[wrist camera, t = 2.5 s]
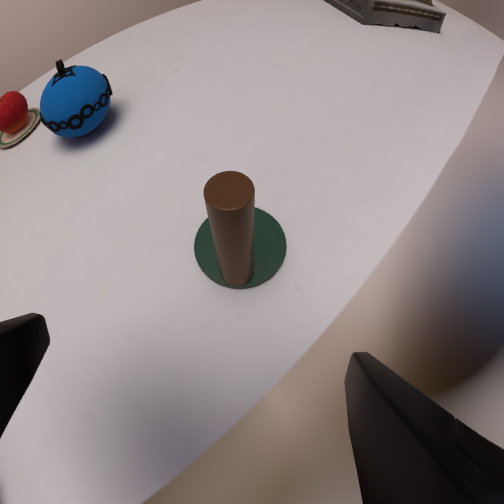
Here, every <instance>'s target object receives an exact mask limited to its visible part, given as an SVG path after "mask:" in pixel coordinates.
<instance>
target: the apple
mask: <svg viewBox="0 0 504 504" xmlns="http://www.w3.org/2000/svg"><path fill="white" fill-rule="evenodd" d="M39 119H40V109H38V108H30V109H28V105H27V101H26V99H25V97H24V96H23V95H22V94H20V93H19V92H17V91H11V92H7V93H6V94H4V95H3V96H2V97H1V98H0V131H1V132H0V148H6V147H9V146H11V145H13V144H15V143H17V142H18V141H20V140H21V139H22V138H24V137H25V136H26V135H27V134H28V133H29V132H30V131H31V130H32V129H33V128H34V127H35V125H36V124H37V122H38V121H39Z"/></svg>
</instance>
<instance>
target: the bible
mask: <svg viewBox="0 0 504 504" xmlns="http://www.w3.org/2000/svg"><path fill="white" fill-rule="evenodd" d="M325 1H328V2H329V3H331V4H332V5H333V6H334V7H336V8H338V9H340V10H341V11H343V12H345V13H346V14H348V15H349V16H351V18H353V19H355V20H357V21H359V22H361V23H363V24H373V25H375V24H382V25H384V26H388V25H390V26H394V25H395V23H396V24H398V25H399V26H401V27H409V26H411V27H414V26H415V25H416V26H417V27H419V28H422V30H426V31H431V32H436V33H439V32H440V28H441V25H442V23H443V20H444V17H445V15H446V13H445V12H443V11H442V10H440V9H439V8H437V7H436V6H434V5H432V1H431V0H325Z"/></svg>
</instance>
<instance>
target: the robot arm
mask: <svg viewBox="0 0 504 504" xmlns="http://www.w3.org/2000/svg"><path fill="white" fill-rule="evenodd" d="M49 344H50V336H49V333H48V329H47V325H46V321H45V318H44V317H43V316H42V315H40V314H36V313H29V314H26V315H23V316H19V317H16V318H13V319H9V320H6V321H2V322H0V438H1V436H2V434H3V432H4V430H5V428H6V426H7V425H8V423H9V421H10V419H11V417H12V415H13V413H14V411H15V410H16V408H17V406H18V404H19V402H20V401H21V399H22V397H23V395H24V394H25V392H26V390H27V388H28V387H29V385H30V383H31V381H32V379H33V377H34V375H35V373H36V371H37V369H38V367H39V365H40V363H41V360H42V358H43V356H44V354H45V352H46V350H47V348H48V346H49ZM345 392H346V403H347V414H348V426H349V434H350V439H351V444H352V448H353V454H354V459H355V463H356V468H357V474H358V479H359V485H360V490H361V496H362V501H363V504H504V449H502V448H501V447H499V446H497V445H496V444H494V443H492V442H491V441H489V440H487V439H486V438H484V437H483V436H481V435H479V434H478V433H477V432H475V431H474V430H472V429H471V428H469V427H468V426H466V425H465V424H464V423H462V422H461V421H460V420H458V419H457V418H456V419H455V417H454V416H453V415H451V414H450V413H449V412H447V411H446V410H445V409H443V408H442V407H441V406H439V405H438V404H436V403H435V402H434V401H432V400H431V399H430V398H428V397H427V396H426V395H424V394H423V393H422V392H420V391H419V390H418V389H416V388H415V387H414V386H412V385H411V384H410V383H408V382H407V381H405V380H404V379H403V378H401V377H400V376H399V375H397V374H396V373H395V372H393V371H392V370H391V369H389V368H388V367H387V366H385V365H384V364H383V363H381V362H380V361H379V360H377V359H376V358H375V357H373V356H372V355H370V354H369V353H368V352H354V353H353V354H352V355H351V358H350V361H349V365H348V368H347V372H346V376H345Z"/></svg>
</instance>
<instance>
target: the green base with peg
mask: <svg viewBox="0 0 504 504" xmlns="http://www.w3.org/2000/svg"><path fill="white" fill-rule="evenodd" d="M204 199H205V204H206V209H207V214H208V218H207V219H206V220H205V221H204V222H203V224H202V225H201V226H200V228H199V230H198V232H197V234H196V238H195V243H194V251H195V256H196V260H197V262H198V264H199V267H200V268H201V270H202V271H203V272H204V274H205V275H206V276H207V277H208V278H210V279H211V280H212V281H214V282H215V283H217V284H220V285H222V286H225V287H228V288H234V289H245V288H251V287H255V286H258V285H260V284H262V283H264V282H266V281H267V280H269V279H270V278H271V277H272V276H274V275H275V273H276V272H277V271H278V270H279V268H280V267H281V265H282V263H283V260H284V257H285V253H286V238H285V235H284V232H283V230H282V228H281V226H280V225H279V223H278V222H277V221H276V220H275V219H274V218H273V217H272V216H271V215H270V214H268V213H267V212H265V211H263V210H261V209H258V208H255V207H254V202H255V189H254V185H253V183H252V181H251V180H250V179H249V178H248V177H247V176H246V175H244V174H242V173H240V172H236V171H225V172H221V173H218V174H216V175H214V176H213V177H211V178H210V179H209V180H208V182H207V183H206V185H205V187H204Z"/></svg>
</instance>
